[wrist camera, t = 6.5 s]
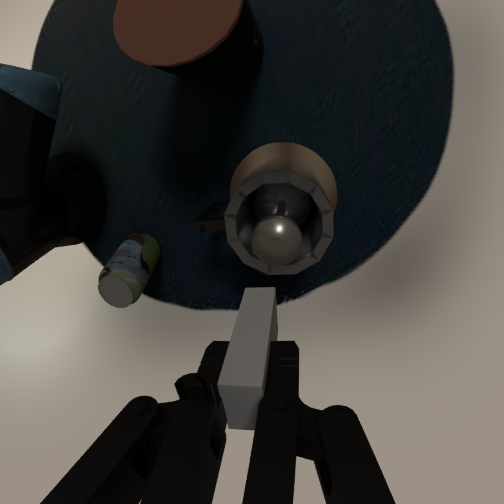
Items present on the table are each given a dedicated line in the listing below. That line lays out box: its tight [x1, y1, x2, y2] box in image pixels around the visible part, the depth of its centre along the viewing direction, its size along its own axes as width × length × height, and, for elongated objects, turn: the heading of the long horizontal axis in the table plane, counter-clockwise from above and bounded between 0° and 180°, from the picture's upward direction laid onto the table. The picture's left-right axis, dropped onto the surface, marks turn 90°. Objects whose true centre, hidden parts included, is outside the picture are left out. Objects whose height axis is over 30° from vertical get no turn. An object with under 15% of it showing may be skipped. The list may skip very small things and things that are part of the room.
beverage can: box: [98, 232, 161, 308], centre depth 40 cm, size 6×7×12 cm
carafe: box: [194, 157, 333, 275], centre depth 34 cm, size 13×10×12 cm
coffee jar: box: [113, 0, 264, 88], centre depth 25 cm, size 11×11×18 cm
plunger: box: [251, 183, 311, 266], centre depth 30 cm, size 7×7×13 cm
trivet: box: [230, 142, 337, 215], centre depth 40 cm, size 14×14×1 cm
